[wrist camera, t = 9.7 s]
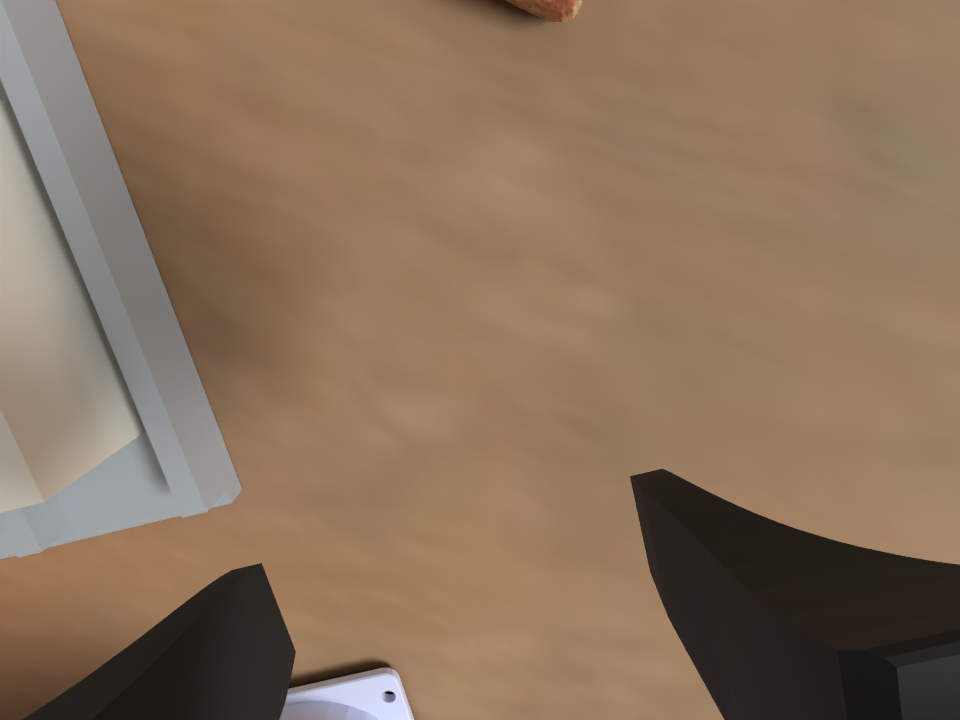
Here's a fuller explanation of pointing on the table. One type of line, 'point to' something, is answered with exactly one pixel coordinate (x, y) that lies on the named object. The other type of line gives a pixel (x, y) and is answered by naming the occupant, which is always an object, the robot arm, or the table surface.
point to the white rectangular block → (49, 345)
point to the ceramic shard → (550, 8)
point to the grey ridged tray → (108, 306)
